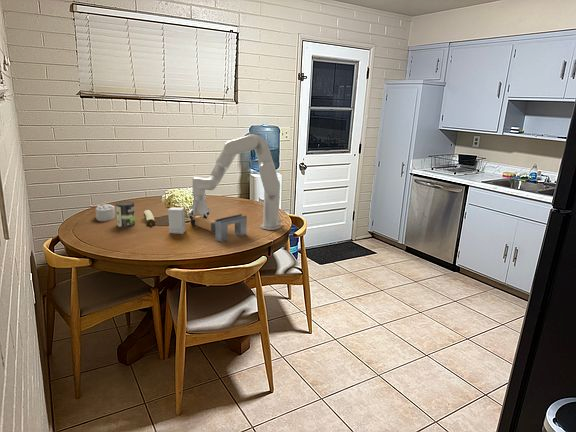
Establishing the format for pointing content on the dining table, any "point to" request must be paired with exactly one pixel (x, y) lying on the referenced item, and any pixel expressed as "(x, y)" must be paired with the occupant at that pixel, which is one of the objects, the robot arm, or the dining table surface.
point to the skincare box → (176, 220)
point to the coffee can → (125, 214)
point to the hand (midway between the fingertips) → (199, 224)
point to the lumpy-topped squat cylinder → (105, 212)
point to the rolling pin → (149, 217)
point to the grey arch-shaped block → (223, 223)
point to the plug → (205, 223)
